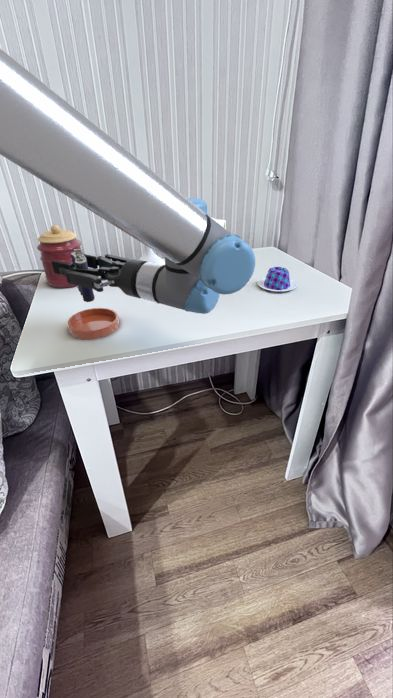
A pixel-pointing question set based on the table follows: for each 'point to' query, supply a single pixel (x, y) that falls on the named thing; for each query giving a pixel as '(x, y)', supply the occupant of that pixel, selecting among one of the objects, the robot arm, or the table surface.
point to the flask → (81, 262)
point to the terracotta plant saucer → (93, 323)
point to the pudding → (277, 280)
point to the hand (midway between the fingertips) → (65, 262)
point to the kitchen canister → (57, 253)
